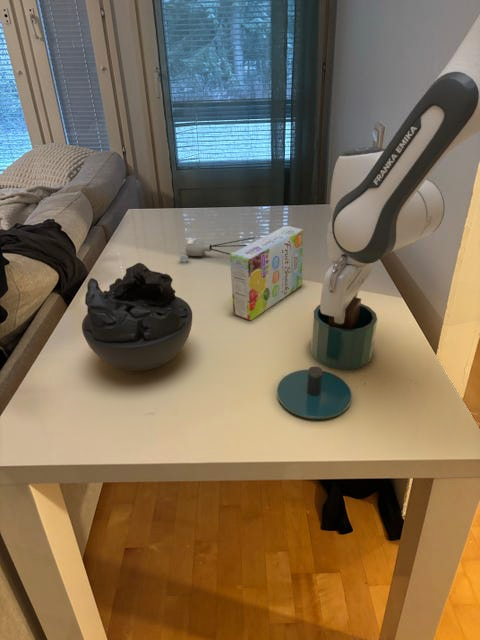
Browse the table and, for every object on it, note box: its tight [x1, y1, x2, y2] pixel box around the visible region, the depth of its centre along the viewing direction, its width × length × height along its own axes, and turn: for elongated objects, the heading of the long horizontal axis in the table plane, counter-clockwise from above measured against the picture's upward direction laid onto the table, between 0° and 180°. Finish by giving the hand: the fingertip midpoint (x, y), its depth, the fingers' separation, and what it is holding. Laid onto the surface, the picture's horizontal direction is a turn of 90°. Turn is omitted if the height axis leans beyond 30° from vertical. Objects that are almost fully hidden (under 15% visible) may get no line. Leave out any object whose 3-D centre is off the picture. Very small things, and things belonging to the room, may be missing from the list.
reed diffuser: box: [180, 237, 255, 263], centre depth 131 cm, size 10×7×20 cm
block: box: [329, 297, 362, 329], centre depth 87 cm, size 4×4×4 cm
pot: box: [310, 303, 378, 371], centre depth 90 cm, size 12×12×8 cm
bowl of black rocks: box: [81, 262, 193, 372], centre depth 86 cm, size 20×20×19 cm
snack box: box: [229, 225, 304, 321], centre depth 107 cm, size 21×6×15 cm, turn 141°
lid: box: [276, 366, 352, 420], centre depth 79 cm, size 13×13×6 cm
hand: (344, 314), depth 87 cm, fingers closed on block, 4 cm apart
